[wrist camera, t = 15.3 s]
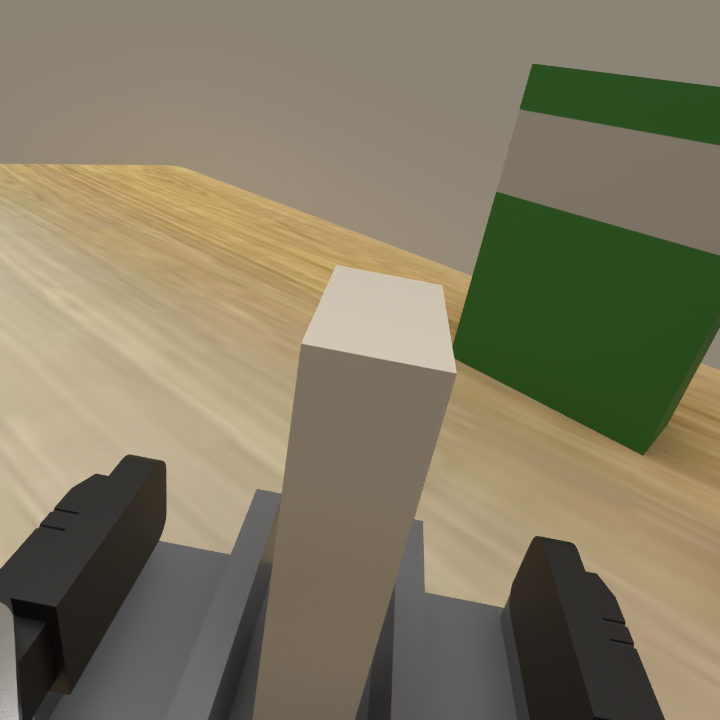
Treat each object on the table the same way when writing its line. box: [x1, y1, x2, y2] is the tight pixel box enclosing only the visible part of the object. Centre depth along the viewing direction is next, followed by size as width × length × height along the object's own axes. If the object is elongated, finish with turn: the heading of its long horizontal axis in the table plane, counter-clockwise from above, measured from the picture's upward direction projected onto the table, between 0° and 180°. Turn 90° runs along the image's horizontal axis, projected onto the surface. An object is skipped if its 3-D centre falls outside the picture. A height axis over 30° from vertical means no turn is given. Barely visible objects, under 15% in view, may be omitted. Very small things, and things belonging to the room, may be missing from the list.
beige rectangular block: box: [252, 265, 457, 720], centre depth 14 cm, size 4×3×15 cm, turn 175°
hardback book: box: [452, 64, 720, 455], centre depth 40 cm, size 18×7×24 cm, turn 47°
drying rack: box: [34, 489, 530, 720], centre depth 17 cm, size 12×17×6 cm
